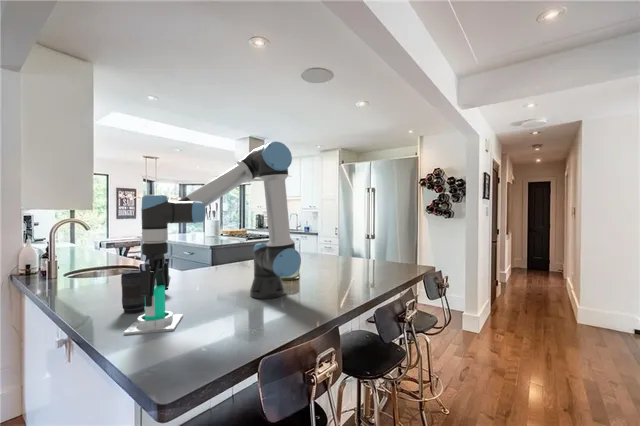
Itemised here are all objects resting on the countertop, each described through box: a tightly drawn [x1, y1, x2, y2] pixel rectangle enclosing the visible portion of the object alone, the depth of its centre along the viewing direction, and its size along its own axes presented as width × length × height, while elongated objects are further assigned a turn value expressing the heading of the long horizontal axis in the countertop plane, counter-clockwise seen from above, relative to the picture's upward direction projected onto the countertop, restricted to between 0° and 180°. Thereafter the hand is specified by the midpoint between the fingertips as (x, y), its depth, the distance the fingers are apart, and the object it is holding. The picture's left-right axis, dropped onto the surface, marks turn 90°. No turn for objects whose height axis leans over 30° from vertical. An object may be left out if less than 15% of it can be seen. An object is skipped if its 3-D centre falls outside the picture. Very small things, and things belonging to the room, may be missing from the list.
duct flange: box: [122, 310, 184, 336], centre depth 103 cm, size 14×14×3 cm
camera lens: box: [120, 268, 145, 315], centre depth 118 cm, size 8×8×15 cm
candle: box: [144, 285, 166, 320], centre depth 103 cm, size 6×6×12 cm
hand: (155, 312), depth 103 cm, fingers closed on candle, 5 cm apart
